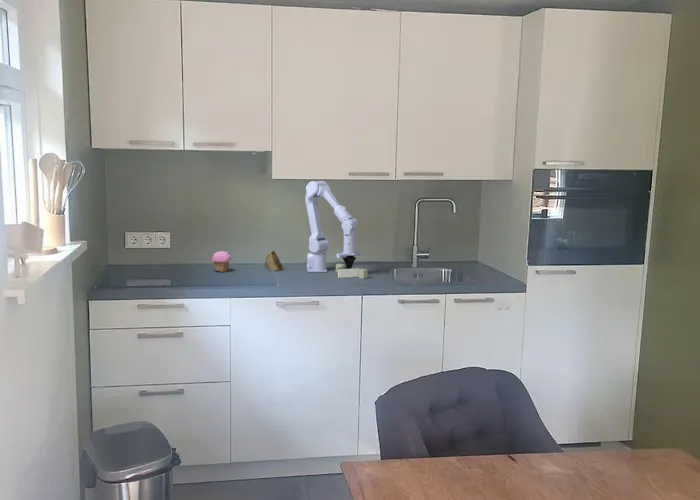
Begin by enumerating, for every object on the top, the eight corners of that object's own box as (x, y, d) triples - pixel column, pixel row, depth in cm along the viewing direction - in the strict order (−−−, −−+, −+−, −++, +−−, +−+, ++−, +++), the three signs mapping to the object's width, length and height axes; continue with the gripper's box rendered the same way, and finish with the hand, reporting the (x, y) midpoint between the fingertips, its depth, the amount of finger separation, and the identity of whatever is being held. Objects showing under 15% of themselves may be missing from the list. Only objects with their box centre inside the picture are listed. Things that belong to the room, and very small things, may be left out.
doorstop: (346, 277, 309) (346, 269, 309) (337, 276, 312) (337, 268, 311) (351, 276, 313) (351, 267, 313) (342, 274, 316) (343, 266, 315)
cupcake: (234, 271, 318) (234, 250, 316) (223, 274, 310) (223, 253, 308) (219, 269, 322) (219, 249, 320) (208, 271, 314) (208, 251, 312)
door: (360, 276, 311) (360, 268, 310) (338, 277, 307) (338, 269, 306) (359, 276, 312) (360, 267, 311) (337, 277, 308) (338, 268, 307)
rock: (258, 263, 329) (262, 263, 319) (268, 249, 330) (272, 249, 320) (276, 275, 331) (280, 276, 322) (285, 261, 333) (290, 262, 323)
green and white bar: (363, 278, 307) (363, 270, 307) (335, 272, 322) (335, 264, 321) (367, 278, 309) (367, 269, 308) (339, 271, 324) (339, 263, 323)
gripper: (343, 245, 306) (343, 274, 308) (366, 243, 315) (365, 271, 317) (333, 243, 311) (333, 272, 313) (356, 241, 320) (355, 268, 322)
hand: (348, 271), depth 315 cm, fingers closed
